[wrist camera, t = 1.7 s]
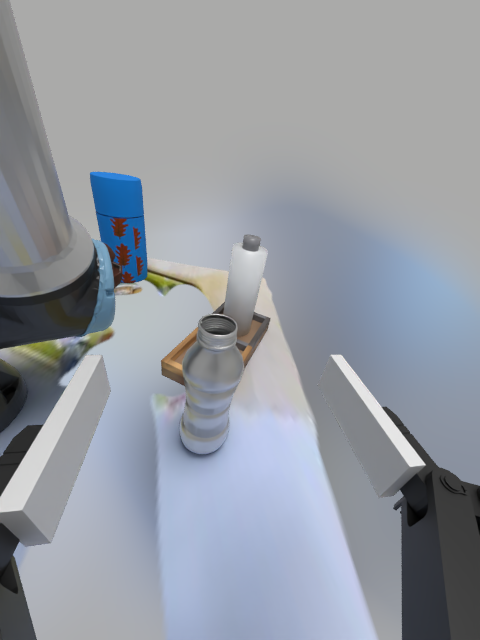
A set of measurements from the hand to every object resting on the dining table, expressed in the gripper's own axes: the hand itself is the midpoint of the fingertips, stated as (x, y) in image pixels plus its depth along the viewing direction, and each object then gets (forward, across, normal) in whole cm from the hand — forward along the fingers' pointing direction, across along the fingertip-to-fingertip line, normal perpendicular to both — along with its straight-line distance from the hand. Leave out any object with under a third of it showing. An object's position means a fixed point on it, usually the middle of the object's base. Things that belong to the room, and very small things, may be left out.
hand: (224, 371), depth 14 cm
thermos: (+59, -21, -19) cm, 65 cm away
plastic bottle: (+9, 0, -22) cm, 24 cm away
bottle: (+33, +7, -19) cm, 38 cm away
